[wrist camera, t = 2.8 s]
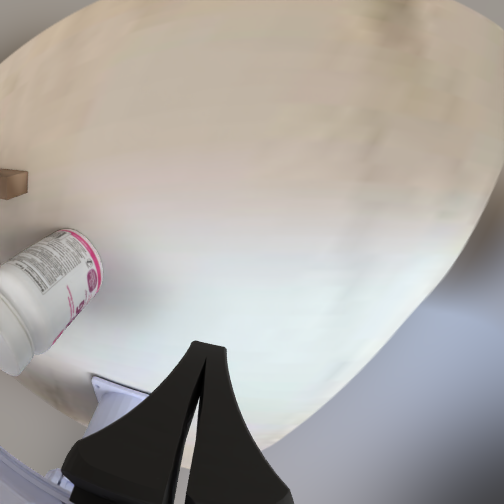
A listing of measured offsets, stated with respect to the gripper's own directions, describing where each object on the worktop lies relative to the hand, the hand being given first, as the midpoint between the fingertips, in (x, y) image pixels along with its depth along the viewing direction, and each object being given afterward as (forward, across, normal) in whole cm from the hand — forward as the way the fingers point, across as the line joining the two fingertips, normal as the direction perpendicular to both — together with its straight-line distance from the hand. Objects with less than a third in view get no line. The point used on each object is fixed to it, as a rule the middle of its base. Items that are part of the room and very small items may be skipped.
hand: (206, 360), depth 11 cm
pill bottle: (+5, +10, 0) cm, 11 cm away
